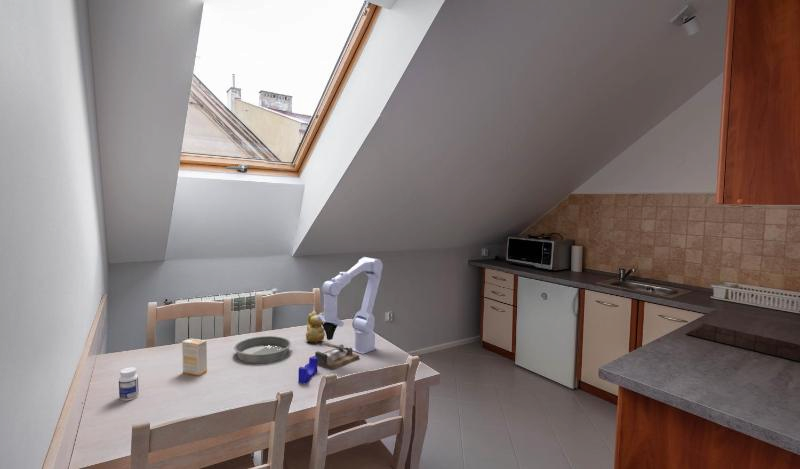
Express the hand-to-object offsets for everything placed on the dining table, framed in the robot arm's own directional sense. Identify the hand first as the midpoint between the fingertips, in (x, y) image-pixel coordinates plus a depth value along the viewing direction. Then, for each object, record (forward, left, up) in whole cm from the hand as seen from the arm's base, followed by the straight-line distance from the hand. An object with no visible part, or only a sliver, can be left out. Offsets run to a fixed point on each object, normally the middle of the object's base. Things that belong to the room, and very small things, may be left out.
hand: (329, 339), depth 184 cm
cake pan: (+14, -29, -11) cm, 34 cm away
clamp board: (-3, 0, -10) cm, 11 cm away
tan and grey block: (-4, 0, -5) cm, 6 cm away
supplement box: (+44, -31, -10) cm, 55 cm away
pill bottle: (+69, -27, -10) cm, 75 cm away
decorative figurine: (-12, -24, -10) cm, 29 cm away
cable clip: (+17, +5, -10) cm, 20 cm away
